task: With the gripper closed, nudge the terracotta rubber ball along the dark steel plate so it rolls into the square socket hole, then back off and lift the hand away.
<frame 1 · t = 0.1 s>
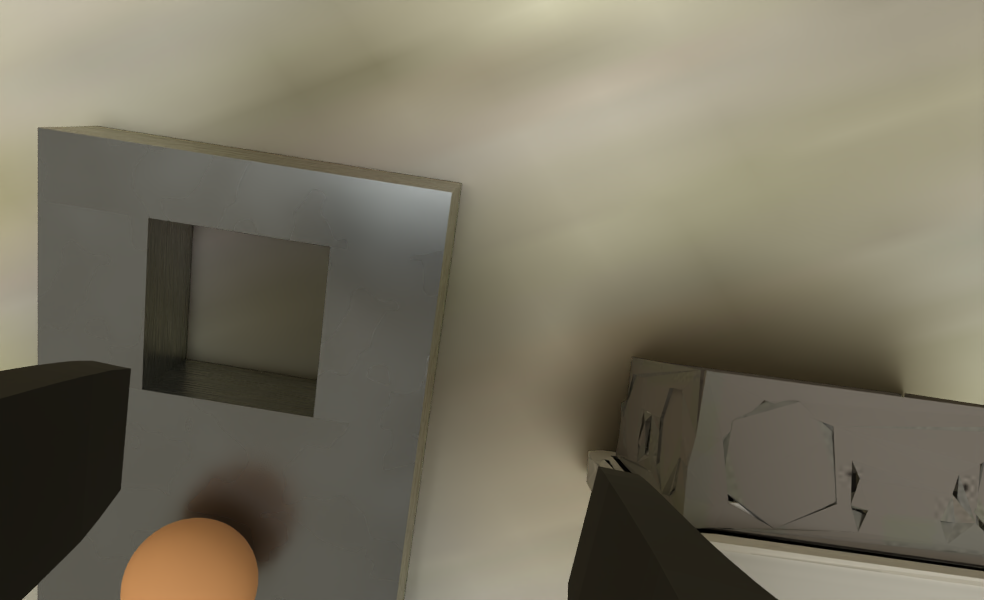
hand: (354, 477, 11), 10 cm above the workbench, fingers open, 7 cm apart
ball: (191, 584, 19), point 4 cm above the workbench, touching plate
electrical switch: (749, 405, 21), on the workbench
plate: (255, 457, 22), on the workbench
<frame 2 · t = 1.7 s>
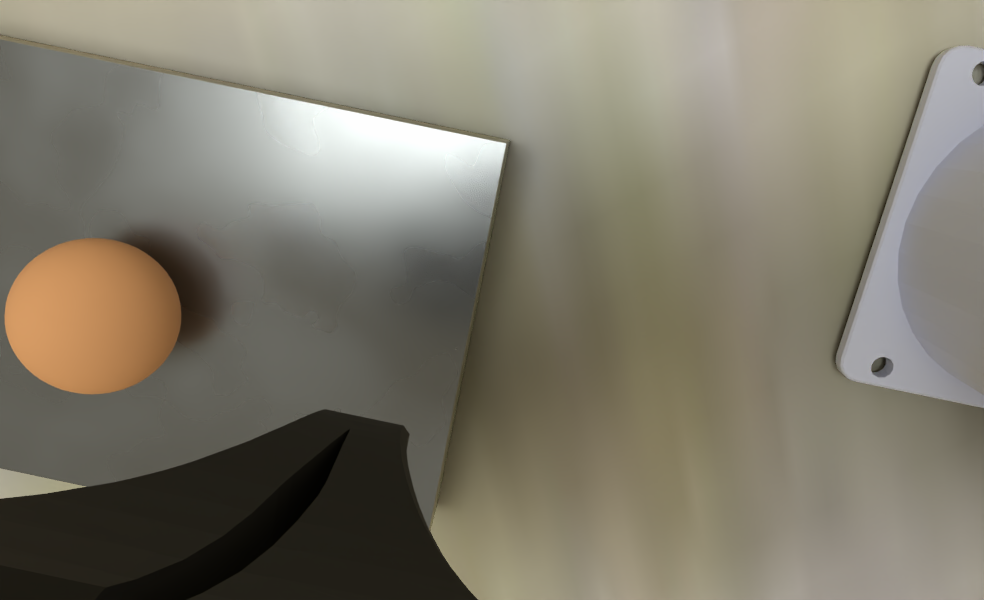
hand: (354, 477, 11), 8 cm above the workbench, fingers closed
ball: (97, 316, 15), point 4 cm above the workbench, touching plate
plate: (131, 263, 19), on the workbench
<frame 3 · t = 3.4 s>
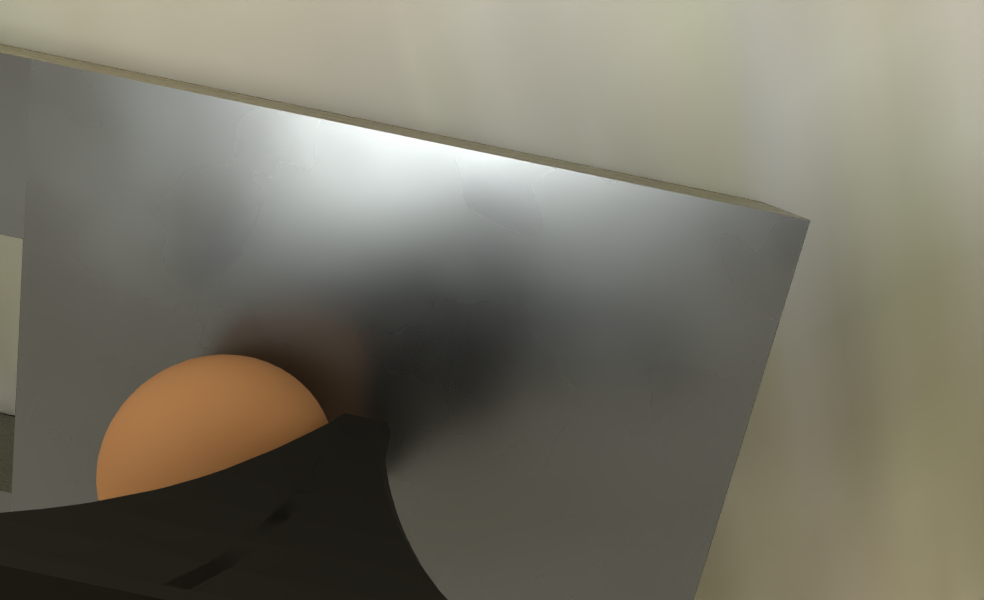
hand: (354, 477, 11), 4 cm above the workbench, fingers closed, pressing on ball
ball: (221, 465, 11), point 4 cm above the workbench, tilted 6°, touching gripper, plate
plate: (238, 358, 15), on the workbench
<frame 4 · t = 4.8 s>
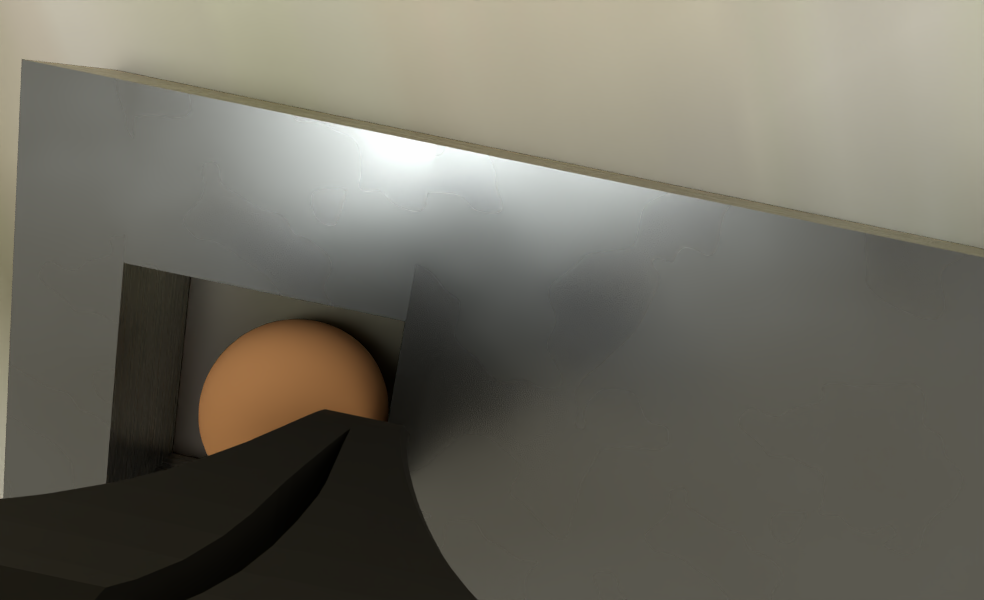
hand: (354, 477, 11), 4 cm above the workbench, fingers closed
ball: (296, 410, 13), point 2 cm above the workbench, tilted 177°
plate: (545, 424, 15), on the workbench
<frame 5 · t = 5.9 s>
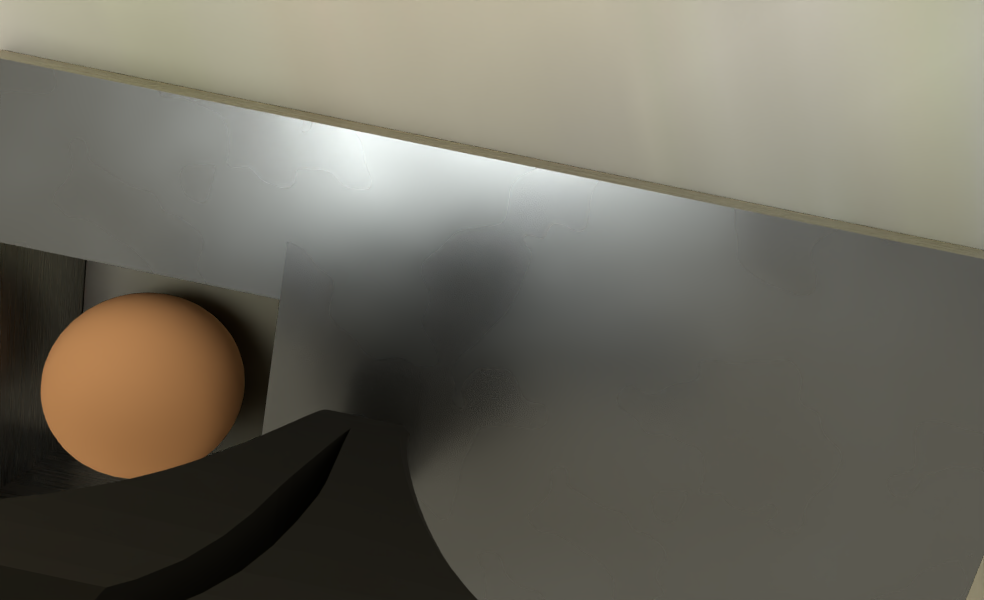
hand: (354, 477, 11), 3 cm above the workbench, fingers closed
ball: (148, 384, 13), point 2 cm above the workbench, tilted 154°
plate: (445, 407, 15), on the workbench
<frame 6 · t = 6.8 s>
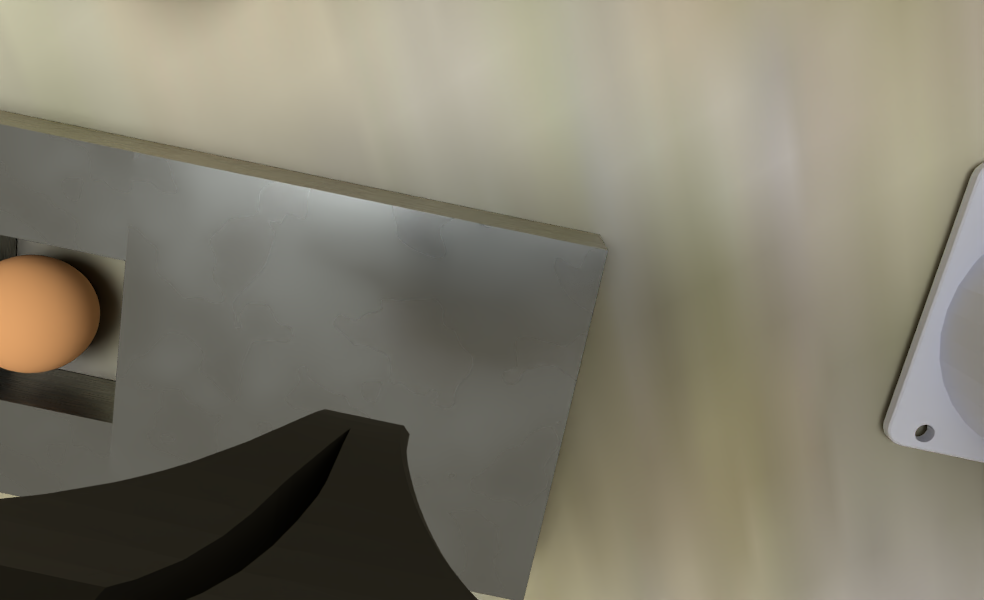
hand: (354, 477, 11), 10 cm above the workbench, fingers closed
ball: (33, 313, 20), point 2 cm above the workbench, tilted 135°
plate: (257, 338, 22), on the workbench
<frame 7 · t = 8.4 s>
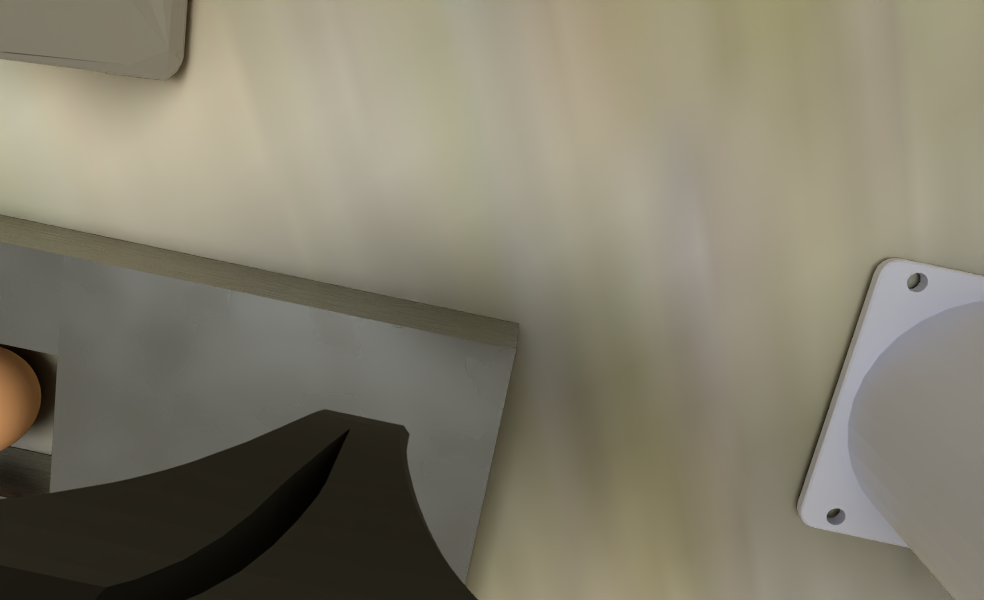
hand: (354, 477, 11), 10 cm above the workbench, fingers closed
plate: (193, 418, 23), on the workbench
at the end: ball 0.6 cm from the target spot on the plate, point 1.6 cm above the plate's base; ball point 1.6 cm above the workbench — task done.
